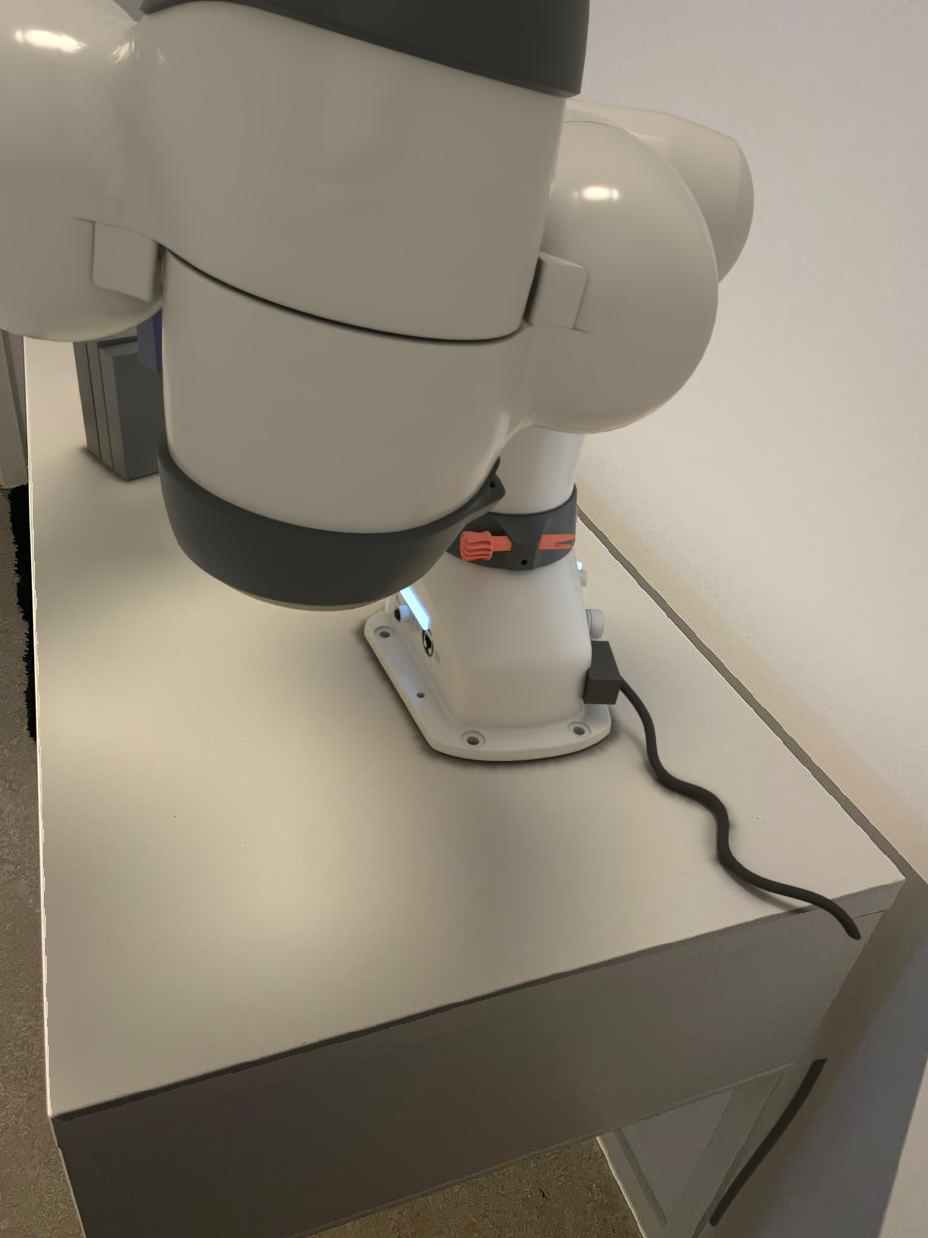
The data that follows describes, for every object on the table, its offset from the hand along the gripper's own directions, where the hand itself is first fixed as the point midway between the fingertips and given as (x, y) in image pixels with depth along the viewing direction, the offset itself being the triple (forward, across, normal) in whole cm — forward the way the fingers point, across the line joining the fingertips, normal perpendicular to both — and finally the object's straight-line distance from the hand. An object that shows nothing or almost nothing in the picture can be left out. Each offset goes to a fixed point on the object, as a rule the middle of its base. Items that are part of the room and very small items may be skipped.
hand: (200, 235), depth 75 cm
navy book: (+7, 0, -8) cm, 10 cm away
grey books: (+17, -10, -17) cm, 26 cm away
